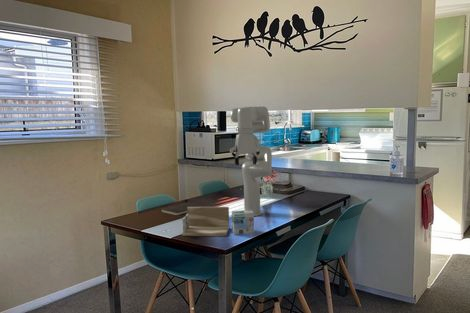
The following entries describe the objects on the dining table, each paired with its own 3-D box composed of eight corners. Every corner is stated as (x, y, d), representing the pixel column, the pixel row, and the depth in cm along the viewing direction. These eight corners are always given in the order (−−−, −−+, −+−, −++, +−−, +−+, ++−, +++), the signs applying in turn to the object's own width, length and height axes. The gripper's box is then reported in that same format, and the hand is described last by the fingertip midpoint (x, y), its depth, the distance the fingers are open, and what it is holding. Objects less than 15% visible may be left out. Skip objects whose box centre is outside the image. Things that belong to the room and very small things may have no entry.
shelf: (188, 227, 221) (187, 206, 219) (229, 228, 218) (228, 206, 217) (182, 235, 207) (181, 213, 205) (225, 236, 204) (224, 213, 203)
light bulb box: (234, 235, 206) (233, 214, 205) (231, 231, 212) (231, 210, 211) (254, 233, 208) (254, 212, 207) (251, 229, 214) (251, 209, 213)
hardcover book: (204, 208, 265) (204, 205, 264) (176, 216, 248) (176, 212, 248) (188, 205, 275) (188, 202, 275) (160, 212, 259) (160, 208, 258)
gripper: (257, 131, 220) (258, 163, 221) (227, 132, 214) (227, 165, 216) (263, 131, 213) (264, 164, 214) (231, 132, 207) (232, 166, 209)
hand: (245, 164), depth 215 cm, fingers open, 9 cm apart
